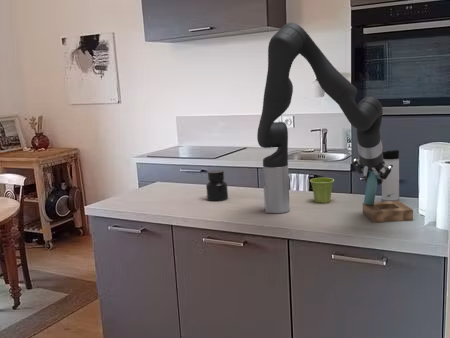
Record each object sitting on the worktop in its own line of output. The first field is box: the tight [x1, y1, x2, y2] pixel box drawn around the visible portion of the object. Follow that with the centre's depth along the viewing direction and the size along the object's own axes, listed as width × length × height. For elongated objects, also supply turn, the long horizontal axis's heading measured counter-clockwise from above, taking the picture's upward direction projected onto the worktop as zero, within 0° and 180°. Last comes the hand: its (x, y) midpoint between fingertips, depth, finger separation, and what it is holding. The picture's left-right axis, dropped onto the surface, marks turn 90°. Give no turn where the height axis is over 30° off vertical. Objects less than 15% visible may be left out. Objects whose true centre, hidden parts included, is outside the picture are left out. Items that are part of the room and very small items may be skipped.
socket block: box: [362, 200, 414, 223], centre depth 168 cm, size 13×13×4 cm
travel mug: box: [381, 149, 400, 202], centre depth 186 cm, size 6×7×20 cm
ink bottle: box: [205, 169, 229, 202], centre depth 208 cm, size 10×9×12 cm
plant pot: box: [309, 177, 335, 204], centre depth 193 cm, size 9×9×9 cm
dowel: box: [363, 171, 378, 205], centre depth 169 cm, size 3×3×16 cm
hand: (374, 181), depth 171 cm, fingers closed on dowel, 3 cm apart
